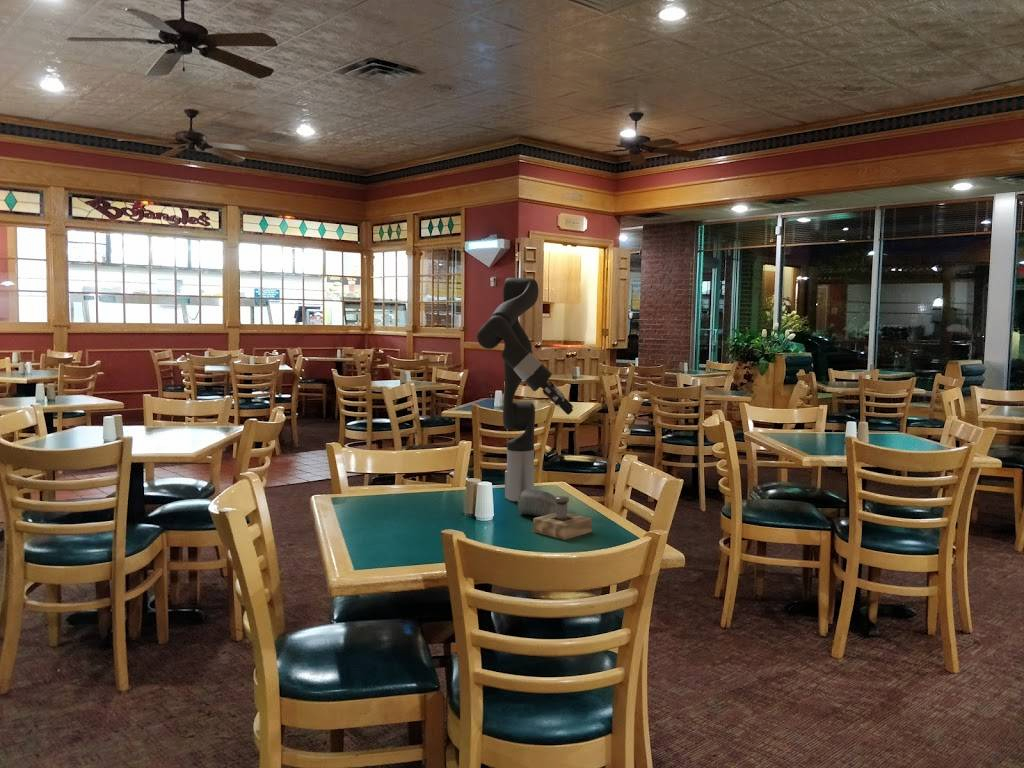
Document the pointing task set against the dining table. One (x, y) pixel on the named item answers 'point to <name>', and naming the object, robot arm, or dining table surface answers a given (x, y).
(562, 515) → the pin
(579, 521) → the block
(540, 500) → the grey rounded rock
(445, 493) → the dining table surface
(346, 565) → the dining table surface
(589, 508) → the dining table surface
